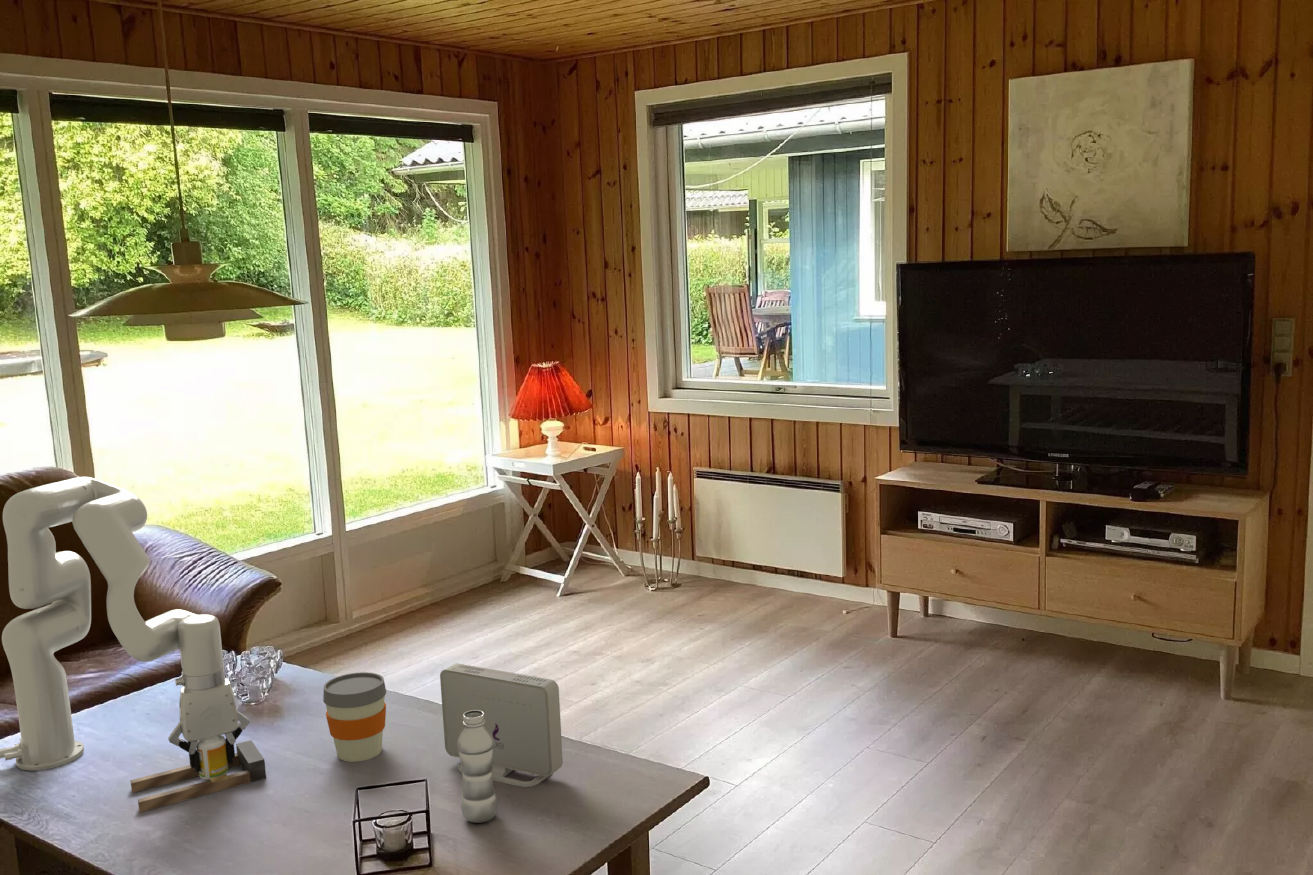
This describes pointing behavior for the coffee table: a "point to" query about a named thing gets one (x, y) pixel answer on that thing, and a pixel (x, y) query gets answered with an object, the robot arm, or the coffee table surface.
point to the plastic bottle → (477, 769)
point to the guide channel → (244, 757)
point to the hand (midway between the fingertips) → (213, 765)
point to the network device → (506, 718)
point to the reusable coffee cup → (356, 714)
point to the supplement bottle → (212, 757)
